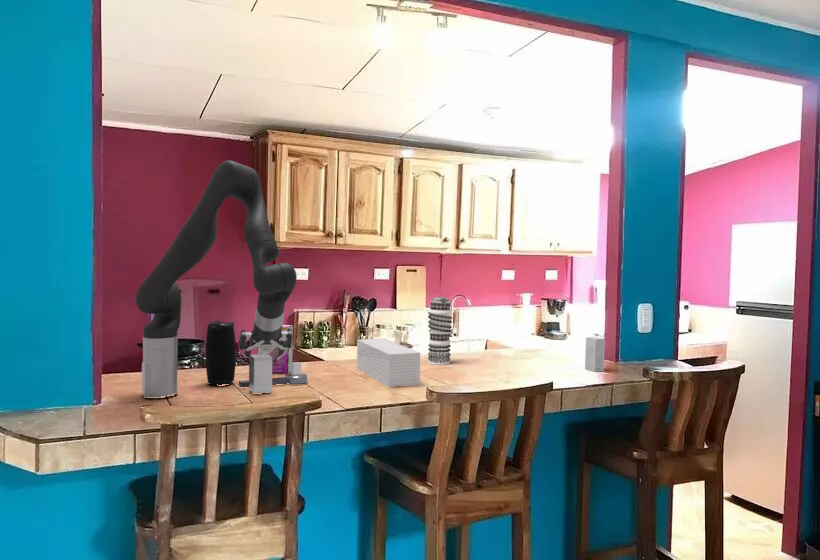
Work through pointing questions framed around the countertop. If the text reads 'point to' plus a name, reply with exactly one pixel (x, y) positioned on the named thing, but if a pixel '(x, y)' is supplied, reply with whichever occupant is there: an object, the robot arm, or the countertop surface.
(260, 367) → the brushed aluminum block
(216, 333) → the portable speaker
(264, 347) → the candy bar box
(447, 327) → the decorative candle
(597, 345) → the skincare box
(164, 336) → the robot arm
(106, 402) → the countertop surface
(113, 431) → the countertop surface
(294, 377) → the ratchet
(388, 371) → the stack of papers
